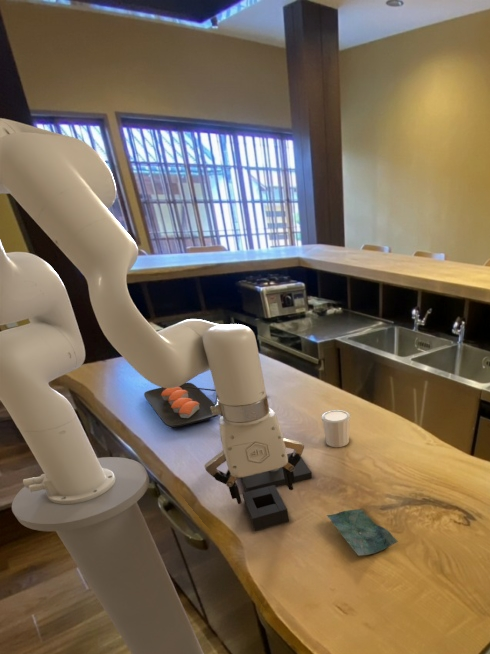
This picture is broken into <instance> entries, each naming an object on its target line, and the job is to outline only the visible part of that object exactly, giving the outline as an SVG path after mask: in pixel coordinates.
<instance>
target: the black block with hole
mask: <svg viewBox="0 0 490 654" xmlns="http://www.w3.org/2000/svg"><path fill="white" fill-rule="evenodd" d="M277 488H278V487H276V486H275V485H272V486H268V487H264V488H260V489H256V490H252V491H250V492H249V491H248V492H246V491H245V492H242V493H241V494H242V499H243V503H244V507H245V509H246V512H247V514H248V517H249V519H250V522H251V524H252V527H253V530H254V531H255V532H257V531H261V530H265V529H269V528H272V527H275V526H278V525H282V524H286V523H289V522H290V518H289V512H288V508H287V506H286V504H285V502H284V500H283V498H282V497H281V494H280V492H279V490H278V489H277Z"/></svg>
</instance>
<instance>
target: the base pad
mask: <svg viewBox="0 0 490 654" xmlns="http://www.w3.org/2000/svg"><path fill="white" fill-rule="evenodd" d="M292 453H293V452H290V453H287V457H288V458H289V457H290V456H291V454H292ZM293 473H294V479H295V483H298V482H301V481H306V480H310V479H312V478H313V473H312V471H311V470H310V468H309V466H308V464H307V463H306V462H305V460H304V459H303V457H302V456H301V459H300V460H299V462H298V463H297V464H296V466H295V470H294V471H293ZM240 480H241V481H242V485H243V486H244V489H245V492H248V491H249V492H250V491H252V490H256V489H260V488H264V487H268V486H272V485H275V486H276V488H278V487H282V486H285V485H286V483H285V478H284V473H283V467H281V468H278V469H275V470H271V471H267V472H263V473H259V474H255V475H251V476H247V477H241V478H240ZM286 486H287V485H286Z"/></svg>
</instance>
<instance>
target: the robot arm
mask: <svg viewBox="0 0 490 654" xmlns="http://www.w3.org/2000/svg"><path fill="white" fill-rule="evenodd" d="M1 194H2V195H4V194H5V195H6V194H8V195H9V194H10V195H11V196H12V197H13V198H14V200H15V201H16V202H17V203H18V205H20V206H21V208H22V209H23V210H24V211H25V212H26V213H27V214H28V215H29V217H30V218H31V219H32V220H34V222H35V223H36V224H37V225H38V226H39V227H40V229H41V230H42V231H43V232H44V233H45V234H46V236H47V237H49V238H50V240H51V241H52V242H53V243H54V244H55V246H56V247H58V249H59V250H60V251H61V252H62V253H63V254H64V255H65V256H66V258H67V259H68V260H69V261H70V262H71V263H72V265H74V266H75V268H76V269H78V271H79V272H80V273H81V274H82V276H84V278H85V280H86V283H87V287H88V288H87V289H88V295H89V301H90V304H91V307H92V310H93V313H94V315H95V318H96V321H97V323H98V325H99V328H100V329H101V331H102V333H103V335H104V337H105V338H106V339H107V341H108V342H109V343H110V345H111V346H112V347H113V348H114V349H115V350H116V351H117V352H118V354H120V356H122V358H123V359H124V360H125V361H126V362H127V364H129V365H130V366H131V368H133V369H134V370H135V371H136V372H137V373H138V374H139V375H140V376H142V378H144V379H145V380H146V381H148V382H150V383H151V384H153V385H155V386H157V387H158V388H161V387H163V388H175V387H179V386H181V385H182V384H184V383H189V382H190V381H191V380H193V379H194V378H196V377H197V376H199V375H201V374H204V373H206V372H208V371H209V372H210V374H211V378H212V381H213V385H214V390H216V391H215V392H216V393H217V404H216V405H215V406H212V407H210V408H211V411H212V415H216V414H218V415H219V416H220V417H219V419H218V420H219V421H218V422H219V423H218V424H219V433H220V441H221V446H222V450H221V451H220V452H219V453H218V454H217V455H215V456H214V457H213V458H211V459H210V460H209V461H207V462H206V463H205V464H204V469H205V471H206V473H208V474H209V475H210V476H211V477H212V478H214V480H215V481H217V482H219V483H222V484H224V485H226V487H228V490H229V494H230V497H231V500H235V501H236V503H237V505H241V504H242V498H241V493H240V491H239V487H238V484H237V480H238V478H240V479H241V477H247V476H251V475H255V474H259V473H263V472H267V471H271V470H275V469H278V468H281V467H283V473H284V478H285V483H286V487H287V489H288V490H289V491H293V490H294V485H293V484H295V483H296V482H295V479H294V473H293V471H294V470H295V466H296V464H297V463H298V462H299V460H300V459H301V457H302V455H303V451H304V449H305V445H304V443H302V442H301V441H298V440H294V439H289V438H285V437H284V435H283V431H282V428H281V425H280V422H279V419H278V416H277V414H276V412H275V411H274V410H273V409H272V408H270V406H269V401H268V396H267V391H266V385H265V380H264V375H263V374H264V373H263V370H262V363H261V359H260V353H259V348H258V343H257V339H256V335H255V332H254V331H253V330H252V329H251V328H250V327H249V326H246V325H244V324H239V323H238V324H237V323H234V324H233V323H230V324H219V323H214V322H210V321H207V320H203V319H197V318H190V319H184V320H182V321H179V322H177V323H174V324H172V325H169V326H167V327H165V328H163V329H160V330H156V329H155V328H154V327H153V326H152V324H150V323H149V322H148V320H147V319H146V318H145V317H144V316H143V314H142V313H141V312H140V310H139V309H138V308H137V306H136V304H135V302H134V301H133V299H132V297H131V295H130V292H129V289H128V283H127V275H128V274H129V272H130V271H131V270H132V268H133V267H134V266H135V264H136V262H137V260H138V256H139V248H138V246H137V243H136V241H135V240H134V239H133V237H132V236H131V235H130V234H129V233H128V232H127V230H126V229H125V228H124V227H123V226H122V224H121V222H119V220H117V219H116V217H115V216H114V215H113V213H111V211H110V210H109V209H110V208H111V207H112V206H113V205H114V203H115V201H116V197H117V186H116V181H115V179H114V176H113V173H112V171H111V169H110V167H109V166H108V164H107V163H106V161H105V159H104V158H103V157H102V156H101V155H100V154H99V152H98V151H96V150H95V149H94V148H93V147H92V146H90V145H89V144H88V143H86V142H84V141H83V140H81V139H79V138H77V137H73V136H70V135H65V134H61V133H57V132H54V131H51V130H47V129H43V128H40V127H36V126H33V125H30V124H26V123H23V122H19V121H15V120H12V119H7V118H2V117H0V195H1ZM25 320H28V321H29V323H26V324H23V325H18V326H14V327H11V328H8V329H5V330H1V331H0V402H1V403H2V405H3V406H4V408H5V409H6V411H7V412H8V415H10V417H11V419H12V421H13V422H14V424H15V426H16V428H17V429H18V431H19V432H20V434H21V435H22V437H23V439H24V441H25V443H26V445H27V446H28V447H29V448H28V449H29V450H30V451H31V453H32V454H33V455H32V456H34V458H35V460H36V461H37V464H38V465H39V467H40V469H41V470H42V472H43V473H42V474H40V476H41V477H39V476H36V477H29V478H24V479H22V483H23V487H26V488H29V489H30V491H31V492H35V491H39V490H43V489H45V490H46V495H47V497H48V499H49V500H50V501H52V502H54V503H58V504H75V503H80V502H84V501H88V500H91V499H93V498H96V497H98V496H100V495H102V494H103V493H105V492H107V491H108V490H109V489H110V488H111V487H112V486H113V485H114V483H115V476H114V474H113V472H112V471H110V470H108V469H105V468H102V467H101V465H100V463H99V461H98V459H97V458H98V457H97V455H96V453H95V451H94V449H93V446H92V444H91V441H90V440H89V437H88V436H87V433H86V431H85V430H84V427H83V425H82V422H81V420H80V419H79V417H78V415H77V413H76V411H75V409H74V407H73V405H72V404H71V402H70V401H69V400H68V398H66V397H65V396H64V395H63V394H61V393H59V392H58V391H57V390H55V389H54V388H52V387H51V386H50V382H52V381H54V380H56V379H58V378H60V377H63V376H65V375H67V374H71V373H72V372H74V371H77V369H79V368H80V367H82V366H83V364H84V362H85V360H86V349H85V344H84V340H83V337H82V334H81V332H80V329H79V325H78V322H77V319H76V315H75V312H74V309H73V307H72V303H71V300H70V297H69V294H68V291H67V289H66V286H65V285H64V282H63V281H62V279H61V278H60V276H59V274H58V273H57V272H56V271H55V270H54V268H53V267H52V266H51V265H50V264H49V263H48V262H47V261H46V260H44V259H43V258H41V257H39V256H38V255H37V254H33V253H30V252H25V251H10V252H6V250H5V249H4V246H3V244H2V241H1V240H0V326H5V325H10V324H14V323H18V322H21V321H25ZM287 449H292V450H293V452H291V453H292V454H291V456H290V457H289V458H288V457H287V454H288V453H287ZM225 462H226V466H227V470H226V471H225V472H223V471H221V470H219V469H218V468H219V467H220V466H221V465H223V464H224V463H225Z"/></svg>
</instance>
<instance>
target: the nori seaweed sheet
mask: <svg viewBox="0 0 490 654" xmlns="http://www.w3.org/2000/svg"><path fill="white" fill-rule="evenodd" d="M326 516H327V518H328V519H329V520H330V521H331V522H332V524H333V525H334V526H335V528H336V529H337V530H338V532H339V533H340V535H341V536H342V538H344V540H345V541H346V542H347V543H348V544H349V546H350V547H351V549H352V550H353V551H354V553H356V554H357V556H358V557H360V556H369V555H372V554H377V553H379V552H381V551H384V550H385V549H387V548H389V547H391V546H392V545H395V544H396V543H399V541H398V540H397V539H396V538H395V536H393V534H392V533H391V532H390V531H389V530H388V529H386V528H385V527H383V526H381V525H377V524H376V523H375V522H374V520H372V518H371V517H369V515H367V514H366V512H365V511H364V510H363V509H362V508H360V509H359V508H357V509H348V510H343V511H340V512H337V513H333V514H327V515H326Z"/></svg>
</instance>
